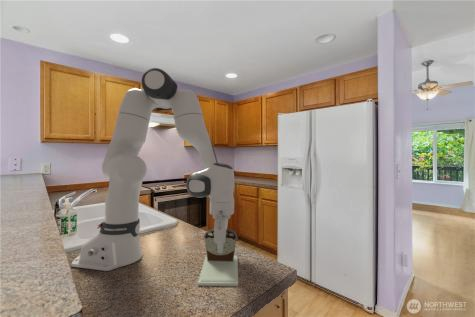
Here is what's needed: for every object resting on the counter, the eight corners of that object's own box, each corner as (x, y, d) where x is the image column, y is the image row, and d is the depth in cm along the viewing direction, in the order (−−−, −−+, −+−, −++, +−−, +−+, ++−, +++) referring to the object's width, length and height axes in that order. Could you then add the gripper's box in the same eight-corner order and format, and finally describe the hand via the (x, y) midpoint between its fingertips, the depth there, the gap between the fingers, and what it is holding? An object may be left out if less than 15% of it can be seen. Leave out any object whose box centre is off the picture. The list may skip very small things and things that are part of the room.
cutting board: (197, 285, 66) (197, 282, 66) (205, 257, 85) (206, 254, 85) (238, 286, 66) (238, 283, 66) (237, 257, 85) (237, 255, 85)
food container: (238, 253, 86) (238, 228, 85) (237, 262, 80) (237, 234, 79) (206, 252, 86) (206, 227, 86) (203, 260, 80) (203, 233, 80)
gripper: (230, 215, 70) (229, 259, 70) (231, 202, 91) (230, 236, 91) (209, 215, 70) (209, 259, 70) (215, 202, 91) (214, 236, 91)
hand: (221, 246), depth 81 cm, fingers open, 8 cm apart
